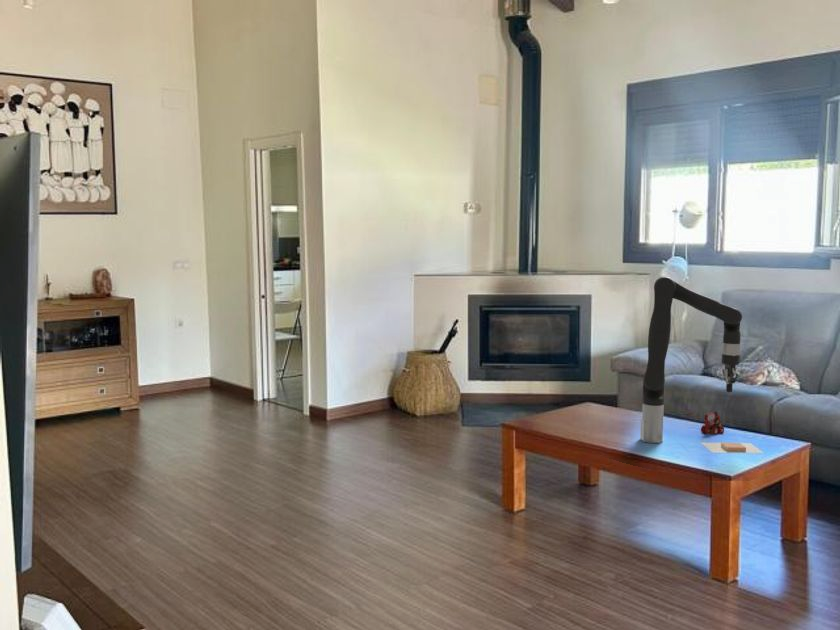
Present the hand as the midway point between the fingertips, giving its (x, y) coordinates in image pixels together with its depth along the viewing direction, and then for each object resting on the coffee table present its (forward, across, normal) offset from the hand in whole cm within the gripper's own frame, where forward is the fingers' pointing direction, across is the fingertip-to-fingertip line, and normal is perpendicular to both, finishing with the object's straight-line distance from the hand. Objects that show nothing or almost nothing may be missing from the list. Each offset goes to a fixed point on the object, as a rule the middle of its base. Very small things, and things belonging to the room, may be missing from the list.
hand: (729, 391), depth 348 cm
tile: (+23, +4, 0) cm, 23 cm away
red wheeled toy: (+25, -22, +1) cm, 33 cm away
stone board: (+25, +6, 0) cm, 25 cm away
